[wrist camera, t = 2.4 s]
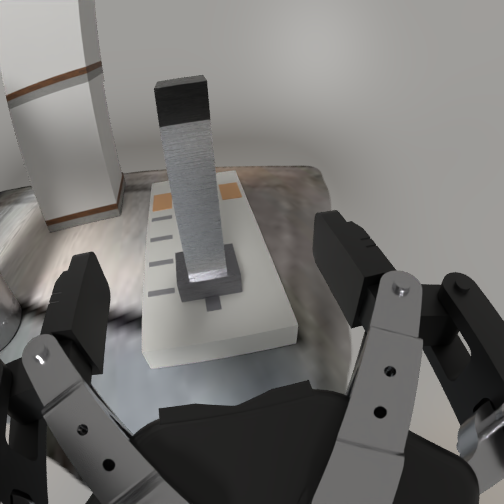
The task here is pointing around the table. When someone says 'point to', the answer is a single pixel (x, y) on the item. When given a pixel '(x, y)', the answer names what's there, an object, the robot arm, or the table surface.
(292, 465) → the robot arm
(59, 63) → the display case
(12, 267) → the table surface
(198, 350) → the console
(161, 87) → the fader
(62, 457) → the table surface
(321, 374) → the table surface
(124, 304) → the table surface
